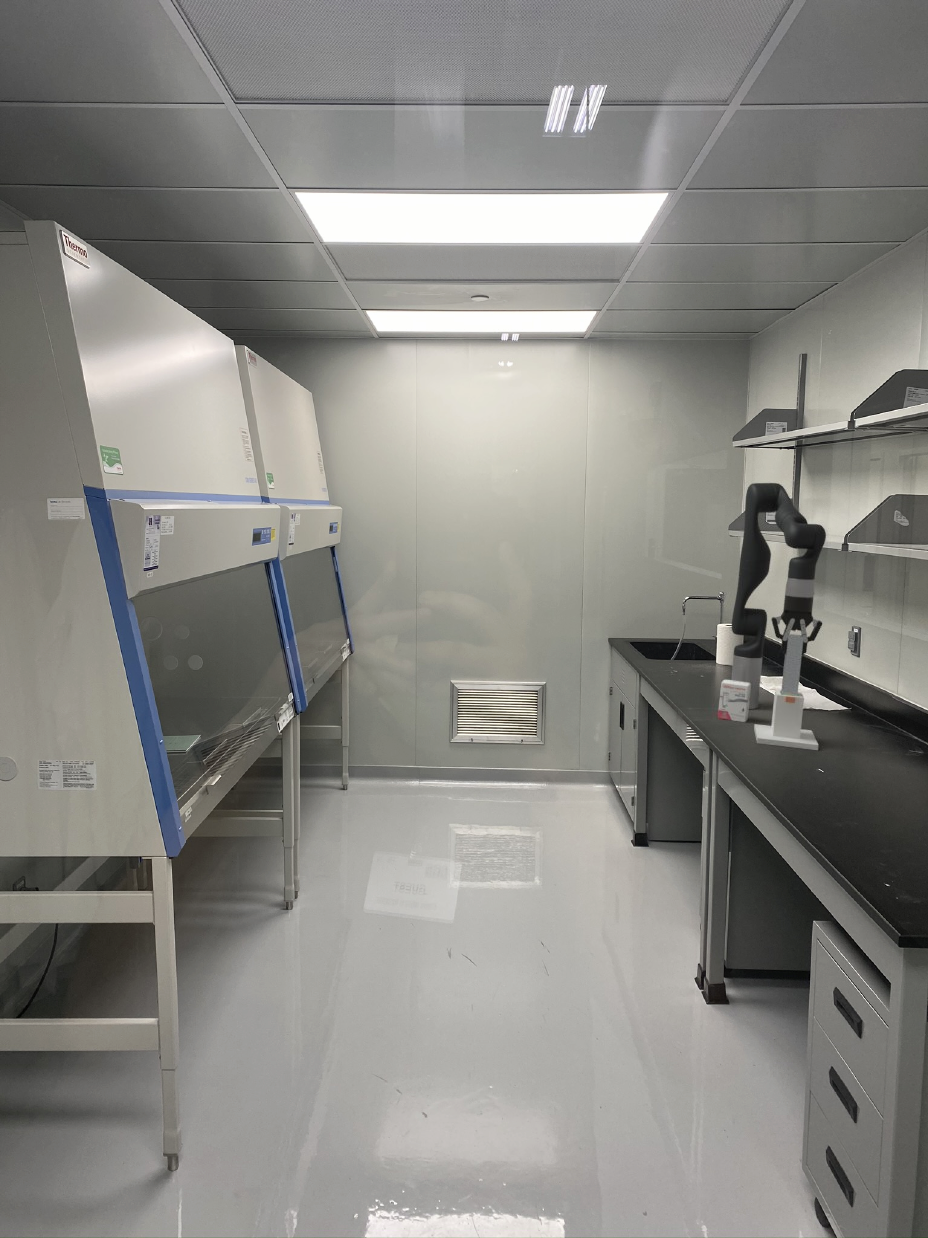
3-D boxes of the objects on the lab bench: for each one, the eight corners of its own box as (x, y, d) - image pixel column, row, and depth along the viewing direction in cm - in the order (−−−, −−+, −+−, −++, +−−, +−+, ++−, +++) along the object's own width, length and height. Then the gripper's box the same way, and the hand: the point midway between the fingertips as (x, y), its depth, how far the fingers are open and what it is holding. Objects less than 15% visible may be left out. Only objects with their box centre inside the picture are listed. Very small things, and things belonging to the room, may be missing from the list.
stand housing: (754, 729, 245) (758, 685, 243) (811, 735, 241) (815, 691, 239) (757, 743, 230) (761, 696, 228) (817, 750, 226) (823, 703, 224)
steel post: (779, 708, 237) (786, 633, 234) (794, 709, 236) (802, 635, 232) (780, 711, 233) (788, 635, 230) (796, 713, 232) (803, 637, 228)
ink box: (716, 718, 256) (720, 681, 255) (719, 715, 261) (723, 679, 259) (745, 722, 252) (748, 685, 251) (747, 719, 257) (751, 682, 255)
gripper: (824, 595, 231) (818, 654, 233) (771, 591, 235) (765, 649, 237) (828, 597, 224) (821, 658, 226) (773, 594, 228) (767, 654, 230)
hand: (793, 653), depth 232 cm, fingers closed on steel post, 4 cm apart
